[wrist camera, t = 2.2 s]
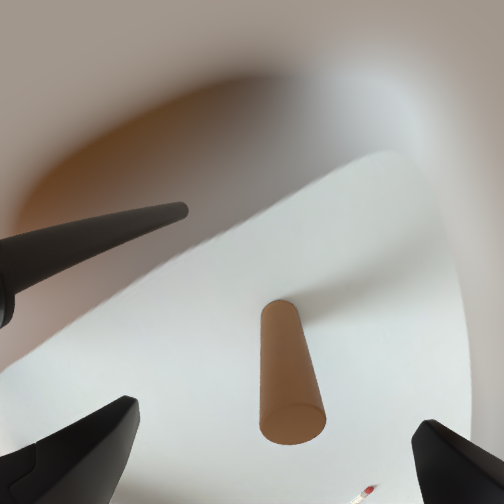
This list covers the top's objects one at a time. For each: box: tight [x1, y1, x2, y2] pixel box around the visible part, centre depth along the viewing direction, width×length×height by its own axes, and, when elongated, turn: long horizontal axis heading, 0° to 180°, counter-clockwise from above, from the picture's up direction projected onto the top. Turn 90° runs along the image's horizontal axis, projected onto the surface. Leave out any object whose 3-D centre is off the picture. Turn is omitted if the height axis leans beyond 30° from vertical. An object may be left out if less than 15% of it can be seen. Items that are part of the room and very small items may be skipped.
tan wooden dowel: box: [259, 300, 326, 445], centre depth 11 cm, size 2×2×8 cm
